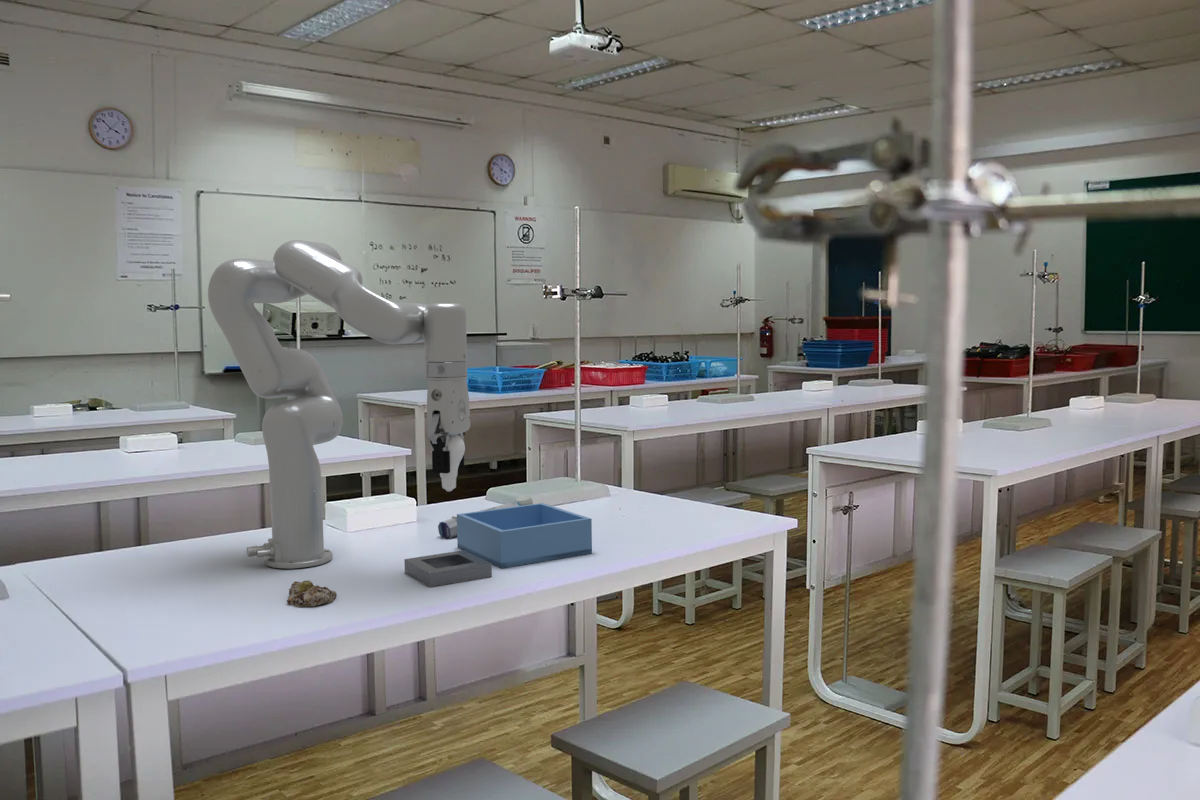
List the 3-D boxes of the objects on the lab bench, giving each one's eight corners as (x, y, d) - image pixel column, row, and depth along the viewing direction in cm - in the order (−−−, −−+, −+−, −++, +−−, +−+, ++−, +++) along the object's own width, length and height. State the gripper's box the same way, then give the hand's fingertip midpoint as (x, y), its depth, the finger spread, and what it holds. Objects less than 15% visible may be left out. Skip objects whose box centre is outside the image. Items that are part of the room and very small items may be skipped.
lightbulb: (467, 493, 172) (466, 432, 171) (433, 495, 171) (432, 434, 170) (464, 487, 178) (462, 429, 177) (430, 489, 177) (429, 430, 176)
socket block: (429, 587, 167) (429, 573, 167) (404, 572, 177) (404, 559, 177) (491, 576, 173) (491, 563, 173) (464, 562, 183) (463, 550, 183)
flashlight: (435, 519, 206) (526, 489, 222) (439, 548, 207) (530, 516, 223) (448, 523, 202) (540, 492, 218) (452, 553, 203) (543, 520, 219)
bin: (501, 568, 179) (500, 531, 178) (457, 547, 195) (456, 514, 195) (592, 553, 189) (591, 518, 189) (542, 534, 206) (542, 503, 206)
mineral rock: (349, 588, 159) (303, 584, 154) (343, 614, 159) (298, 611, 154) (321, 577, 168) (277, 573, 162) (316, 602, 167) (272, 599, 162)
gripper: (447, 374, 163) (449, 478, 165) (482, 369, 180) (484, 463, 182) (406, 374, 165) (409, 477, 167) (445, 368, 182) (447, 462, 183)
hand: (448, 468), depth 174 cm, fingers closed on lightbulb, 6 cm apart
